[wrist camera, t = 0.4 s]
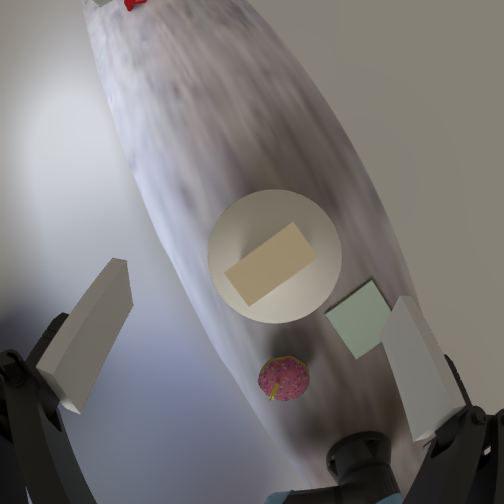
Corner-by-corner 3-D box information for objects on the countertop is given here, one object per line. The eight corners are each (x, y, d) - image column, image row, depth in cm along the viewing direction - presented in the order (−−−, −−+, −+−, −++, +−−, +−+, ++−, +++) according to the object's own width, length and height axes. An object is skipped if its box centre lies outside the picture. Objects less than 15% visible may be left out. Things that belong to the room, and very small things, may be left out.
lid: (364, 270, 34) (391, 283, 24) (260, 343, 37) (251, 379, 26) (287, 165, 35) (288, 139, 25) (185, 242, 37) (151, 245, 27)
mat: (398, 326, 44) (400, 327, 44) (355, 358, 46) (356, 359, 45) (370, 279, 45) (372, 280, 44) (324, 313, 46) (325, 314, 45)
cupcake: (257, 381, 48) (249, 418, 36) (266, 342, 48) (260, 373, 36) (301, 389, 47) (304, 427, 35) (313, 351, 47) (320, 383, 35)
